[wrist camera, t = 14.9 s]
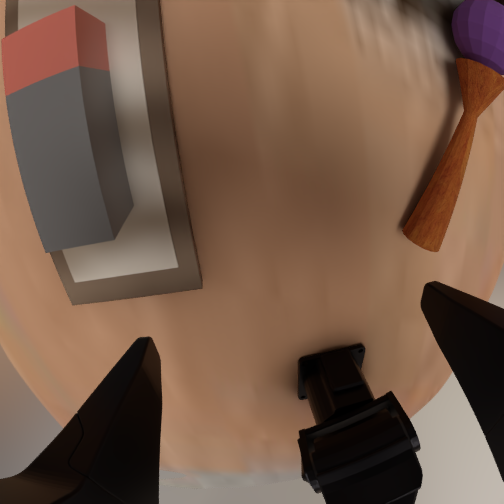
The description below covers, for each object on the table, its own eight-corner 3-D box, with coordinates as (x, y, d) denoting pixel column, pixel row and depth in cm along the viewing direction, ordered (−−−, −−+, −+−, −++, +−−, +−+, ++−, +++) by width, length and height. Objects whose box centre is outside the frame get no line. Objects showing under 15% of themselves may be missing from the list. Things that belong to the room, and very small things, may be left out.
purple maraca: (402, 250, 18) (485, -24, 8) (377, 212, 24) (443, -10, 13) (465, 269, 19) (544, 26, 9) (434, 231, 24) (499, 28, 14)
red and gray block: (134, 205, 17) (114, 240, 13) (75, 217, 17) (45, 252, 13) (105, 23, 12) (74, 4, 8) (43, 46, 12) (1, 39, 8)
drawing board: (202, 280, 22) (202, 290, 21) (76, 297, 21) (71, 307, 20) (156, -66, 10) (153, -74, 9) (14, -14, 9) (5, -17, 8)
